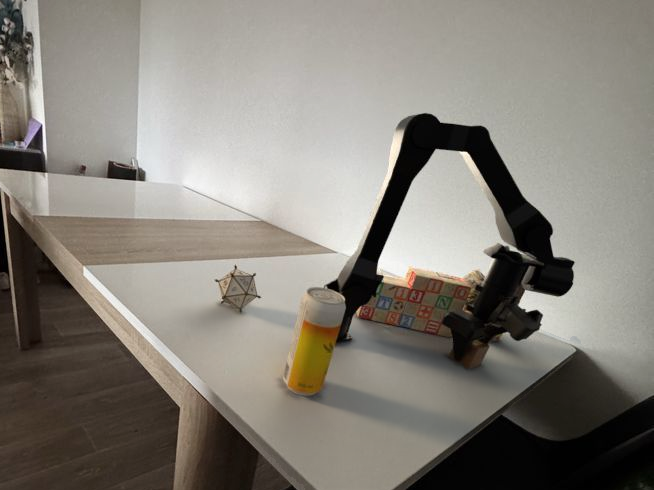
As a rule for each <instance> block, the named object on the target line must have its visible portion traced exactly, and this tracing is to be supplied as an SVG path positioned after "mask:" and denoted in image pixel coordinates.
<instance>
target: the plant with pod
mask: <svg viewBox="0 0 654 490" xmlns="http://www.w3.org/2000/svg"><path fill="white" fill-rule="evenodd" d="M503 246H504V247H505V249H506V250H510V251H511V249H510V245H503ZM485 276H486V275H484V274H483V273H482V272H481V270H480V269H473V270H470V271H469V272H468V273H467V274H465V276H463V278H462V279H463V280H464V281H466V283H468V284H469V285H470V286H471V287H472V289H471V291H470V293H469V295H468V298H467V300H466V304H465V306H464V308H463V311H465V312H467V313H469V314H471V315H472V312H470V311H468V310H466V308H467V306H468V305H469V304H473V303H474V300H475V298H476V296H477V294H478V292H479V291H477V290H475V288H476V285H477V284H482V283H483V280H484V278H485Z"/></svg>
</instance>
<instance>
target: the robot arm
mask: <svg viewBox="0 0 654 490" xmlns="http://www.w3.org/2000/svg"><path fill="white" fill-rule="evenodd" d="M390 146H391V147H390V150H389V159H388V168H387V173H386V175H385V178H384V181H383V183H382V185H381V188H380V190H379V193H378V195H377V198H376V200H375V203H374V205H373V207H372V211H371V213H370V215H369V218H368V221H367V223H366V225H365V228H364V230H363V232H362V236H361V239H360V240H359V243H358V245H357V248H356V250H355V251H354V253H353V254H352V255H351V256H350V257H349V258H348V260H347V261H346V263H344V266H343V267H342V269H341V270H340V272H339V274H338V275H337V277H336V278H335V279H333V280H331V281H329V282H328V283H325V284H324V285H323V288H326V289H330V290H333V291H336V292H338V293H340V294H341V295H342V296H343V297H344V298H345V306H346V309H345V313H344V316H343V320H342V323H341V326H340V330H339V333H338V337H337V340H336V343H341V342H342V343H343V342H347V341H348V342H349V341H352V339H353V337H352V335H351V334H349V331H350V328H351V324H352V321H353V318H354V316H355V314H357V312H356V311H357V310H358V309H359V308H360V307H361V306H363V305H366V304H367V303H368V302H369V301H370V299H371V298H372V295H373V297H376V291H377V288H378V286H379V285H380V283H381V282H382V280H383V278H384V276H383V272H382V271H381V269H380V267H379V266H378V265H379V261H380V258H381V256H382V253H383V251H384V249H385V247H386V244H387V241H388V239H389V238H390V234H391V233H392V230H393V228H394V226H395V223H396V221H397V218H398V216H399V214H400V212H401V209H402V207H403V204H404V202H405V200H406V197H407V195H408V192H409V191H410V189H411V185H412V183H413V181H414V180H415V178H416V177H417V176H418V175H419V173H420V172H421V171H422V170H423V169H424V168H425V166H426V165H427V164H428V162H429V161H430V159H431V157H432V156H433V154H434V153H435V152H436V151H437V150H439V151H451V152H458V153H459V154H460V155H461V156H462V158H463V160H464V161H465V163H466V165H467V166H468V168H469V170H470V171H471V173H472V175H473V176H474V178H475V180H476V181H477V183H478V185H479V186H480V188H481V190H482V191H483V193H484V195H485V196H486V198H487V200H488V201H489V203H490V205H491V207H492V208H493V211H494V217H495V218H494V219H495V225H496V227H497V231H498V234H499V236H500V238H501V240H502V241H503V243H505V244H507V245H508V246H510V247H513V248H515V249H516V251H515V250H511V249H510V250H506V249H505V247H504V246H505V245H503V244H502V243H500V242H497V243H495V244H493V245H492V246H489V247H487V248H485V249H483V251H482V252H483V254H484V255H486V256H488V257H489V258H491V259H492V260H491V262H490V265H489V268H488V270H487V272H486V274H485V275H484V276H485V278H484V280H483V283H482V284H477V285H476V288H475V290H477V291H479V292H478V294H477V296H476V298H475V300H474V303H473V304H469V305H468V306H467V308H466V310H468V311H470V312H472V315H471V314H469V313H467V312H465V311H463V310H455V311H450V312H447V313H445V314H444V317H443V319H442V322H441V323H442V324H443V325H445V326H446V327H448V328H450V329H451V340H452V348H453V351H454V359H455V360H457V361H461V359H462V358H463V357H464V355H465V354H466V352H467V351H468V349H469V348H470V346H471V345H472V343H473V342H474V341H475V340H480V341H482V342H484V343H486V344H488V345H490V343H491V342H493V341H492V340H493V339H494V338H495V337H496V336H497V335H499V334H507V333H508V334H509V336H510V338H511V339H513V340H514V341H516V342H520V341H522V340H527V339H528V338H529V337H530V336H532V335H533V334H534V333H536V332H538V331H540V328H541V326H543V324H542V323H541V322H542V319H543V317H544V314H543V312H541V311H539V310H538V309H533V310H528V311H527V309H525V308H521V306H519V305H517V303H518V301H519V299H520V298H519V295H517V294H516V292H517V290H518V288H519V286H520V284H521V283H522V286H523V288H524V289H525V291H528V292H533V293H537V294H541V295H547V296H551V297H557V298H558V297H563V296H565V295H566V294H567V293H568V292H570V290H571V289H572V288H573V286H574V278H575V274H574V273H575V272H574V269H573V267H574V265H575V264H576V262H575V260H572V259H570V258H568V257H563V256H557V257H556V256H554V251H553V246H552V242H551V241H552V240H551V237H552V236H553V234H554V229H553V226H552V224H551V222H550V221H549V220H548V218H546V216H545V215H544V214H543V213H542V212H541V211H540V210H539V209H538V208H536V207H535V206H534V205H533V204H532V203H530V202H529V201H528V200H527V198H525V196H524V195H523V194H522V192H521V190H520V188H519V186H518V185H517V183H516V181H515V179H514V177H513V176H512V173H511V172H510V170H509V169H508V167H507V165H506V163H505V161H504V159H503V158H502V155H500V152H499V151H498V149H497V147H496V145H495V144H494V141H493V140H492V138H491V134H490V131H489V130H488V128H487V127H486V126H484V125H467V124H459V123H452V122H451V123H450V122H441V121H440V120H439V118H438V117H437V116H436V115H434V114H432V113H428V112H423V113H417V114H412V115H408V116H406V117H404V118H403V119H401V120H400V121H399V123H398V124H397V126H396V127H395V130H394V133H393V138H392V140H391V145H390ZM521 254H524V255H527V256H529V257H530V258H529V260H528V259H523V258H522V255H521ZM336 343H335V344H336Z"/></svg>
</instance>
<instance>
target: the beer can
mask: <svg viewBox="0 0 654 490" xmlns="http://www.w3.org/2000/svg"><path fill="white" fill-rule="evenodd" d="M300 300H301V301H300V305H299V308H298V312H297V316H296V317H297V318H296V322H295V326H294V331H293V333H292V338H291V343H290V346H289V351H288V355H287V360H286V363H285V369H284V372H283V377H282V379H283V382H284V383H285V385H286V387H287V388H288V390H289V391H291V392H292V393H294V394H296V395H299V396H303V397H304V396H305V397H308V396H314V395H315V394H317V393H319V392H320V391H321V390H323V387H324V384H325V381H326V378H327V374H328V371H329V367H330V364H331V360H332V357H333V353H334V350H335V347H336V340H337V337H338V333H339V330H340V326H341V323H342V320H343V316H344V313H345V309H346V306H345V298H344V297H343V296H342V295H341V294H340V293H338V292H336V291H333V290H330V289H326V288H324V287H319V286H313V287H308V288H307V289H306V292H305V293H304V294H303V295H302V296H301V299H300Z"/></svg>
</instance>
